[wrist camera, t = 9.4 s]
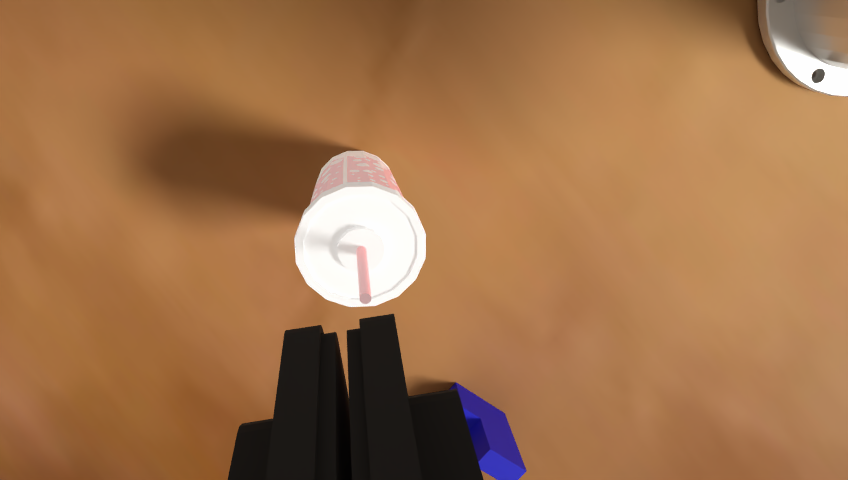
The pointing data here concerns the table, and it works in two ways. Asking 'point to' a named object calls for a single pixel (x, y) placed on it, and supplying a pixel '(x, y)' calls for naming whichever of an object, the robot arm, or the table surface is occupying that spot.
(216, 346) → the table surface
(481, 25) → the table surface
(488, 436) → the cable clip
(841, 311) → the table surface
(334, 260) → the beverage cup
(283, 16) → the table surface
